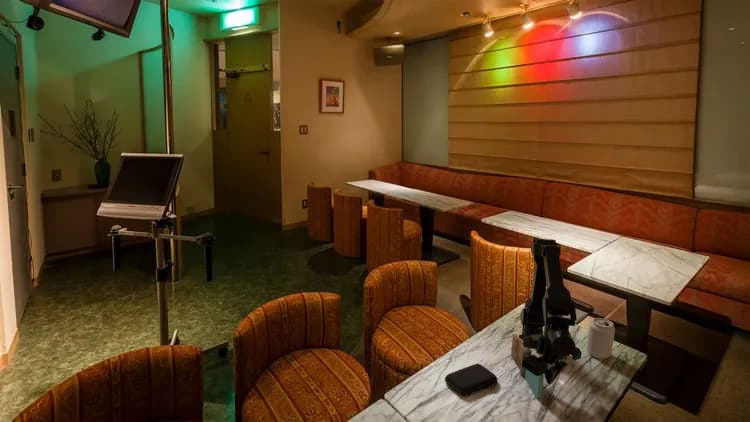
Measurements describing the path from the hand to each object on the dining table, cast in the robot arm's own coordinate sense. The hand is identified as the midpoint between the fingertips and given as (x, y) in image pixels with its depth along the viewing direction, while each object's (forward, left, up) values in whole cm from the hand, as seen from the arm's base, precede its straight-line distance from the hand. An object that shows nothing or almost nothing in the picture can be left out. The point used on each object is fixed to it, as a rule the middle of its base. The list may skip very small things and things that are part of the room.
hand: (549, 383), depth 130 cm
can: (-5, +31, -3) cm, 32 cm away
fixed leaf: (-13, +2, -3) cm, 14 cm away
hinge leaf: (-4, -2, -2) cm, 6 cm away
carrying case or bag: (-14, -17, -3) cm, 22 cm away
